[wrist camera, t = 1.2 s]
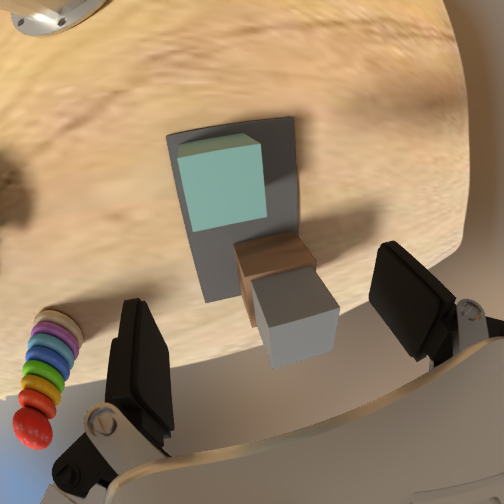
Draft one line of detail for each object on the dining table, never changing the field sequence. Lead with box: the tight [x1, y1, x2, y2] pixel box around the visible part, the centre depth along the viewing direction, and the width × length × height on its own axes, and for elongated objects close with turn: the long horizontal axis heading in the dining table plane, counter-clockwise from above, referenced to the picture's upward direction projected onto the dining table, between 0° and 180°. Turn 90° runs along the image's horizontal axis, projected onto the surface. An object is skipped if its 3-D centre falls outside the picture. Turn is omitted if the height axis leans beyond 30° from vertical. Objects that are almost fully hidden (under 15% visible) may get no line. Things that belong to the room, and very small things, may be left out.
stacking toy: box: [13, 310, 83, 450], centre depth 23 cm, size 8×8×19 cm
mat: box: [166, 117, 298, 303], centre depth 29 cm, size 20×12×1 cm, turn 6°
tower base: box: [233, 231, 316, 328], centre depth 30 cm, size 7×7×6 cm
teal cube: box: [177, 133, 267, 232], centre depth 23 cm, size 6×6×6 cm
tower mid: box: [251, 266, 340, 369], centre depth 25 cm, size 6×6×6 cm
